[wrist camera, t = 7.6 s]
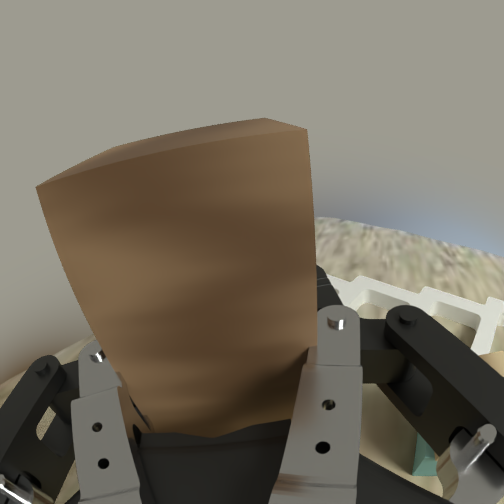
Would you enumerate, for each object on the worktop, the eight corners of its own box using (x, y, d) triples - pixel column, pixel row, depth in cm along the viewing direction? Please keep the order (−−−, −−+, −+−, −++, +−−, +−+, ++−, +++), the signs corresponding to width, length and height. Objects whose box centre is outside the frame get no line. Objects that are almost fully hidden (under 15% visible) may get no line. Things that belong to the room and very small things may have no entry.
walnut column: (209, 498, 12) (35, 186, 5) (207, 422, 16) (113, 147, 9) (311, 485, 12) (307, 129, 5) (293, 410, 16) (264, 118, 9)
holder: (257, 310, 42) (254, 293, 41) (333, 255, 52) (332, 241, 51) (577, 446, 11) (591, 431, 9) (583, 337, 21) (590, 321, 20)
